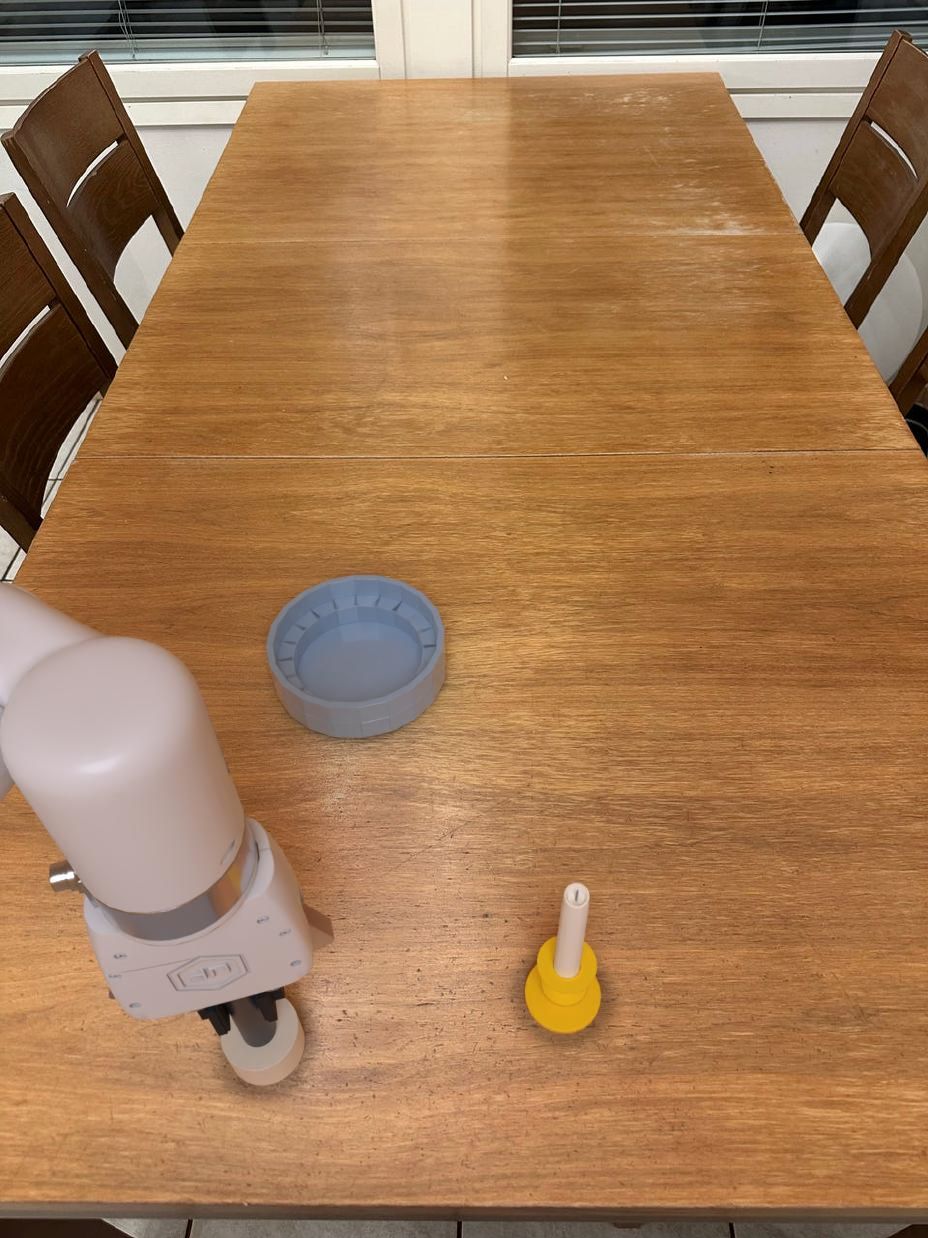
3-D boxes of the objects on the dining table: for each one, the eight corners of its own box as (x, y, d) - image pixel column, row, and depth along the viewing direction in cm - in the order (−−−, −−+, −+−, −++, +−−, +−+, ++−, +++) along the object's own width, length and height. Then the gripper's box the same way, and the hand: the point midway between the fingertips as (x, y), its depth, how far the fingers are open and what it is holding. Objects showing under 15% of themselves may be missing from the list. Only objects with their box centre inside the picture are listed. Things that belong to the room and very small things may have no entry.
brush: (233, 1095, 61) (186, 1022, 52) (226, 1019, 64) (180, 937, 55) (310, 1073, 62) (277, 998, 52) (299, 999, 65) (266, 915, 56)
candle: (590, 1044, 63) (613, 945, 51) (515, 1020, 64) (520, 918, 53) (607, 971, 66) (632, 862, 55) (535, 948, 67) (544, 838, 56)
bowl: (288, 761, 79) (278, 725, 75) (266, 630, 89) (257, 593, 85) (465, 720, 81) (463, 684, 77) (424, 598, 91) (421, 560, 87)
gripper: (-13, 978, 40) (113, 1106, 54) (354, 885, 43) (387, 1029, 57) (-2, 828, 45) (111, 980, 59) (327, 753, 48) (363, 915, 61)
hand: (246, 1003), depth 58 cm, fingers closed on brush
